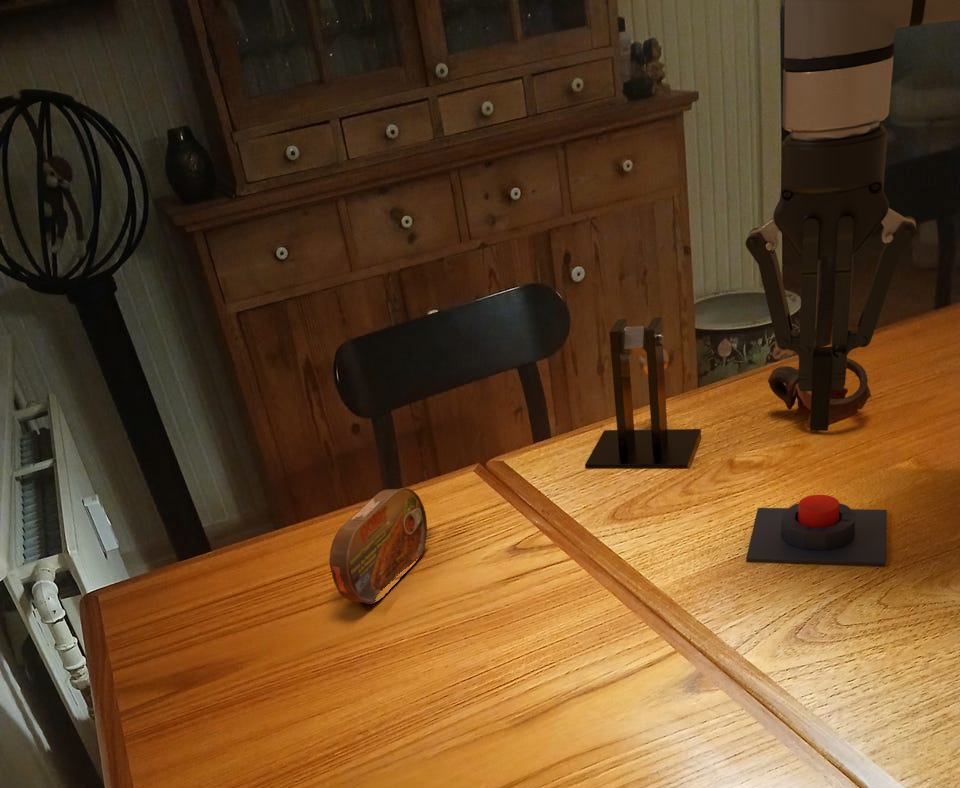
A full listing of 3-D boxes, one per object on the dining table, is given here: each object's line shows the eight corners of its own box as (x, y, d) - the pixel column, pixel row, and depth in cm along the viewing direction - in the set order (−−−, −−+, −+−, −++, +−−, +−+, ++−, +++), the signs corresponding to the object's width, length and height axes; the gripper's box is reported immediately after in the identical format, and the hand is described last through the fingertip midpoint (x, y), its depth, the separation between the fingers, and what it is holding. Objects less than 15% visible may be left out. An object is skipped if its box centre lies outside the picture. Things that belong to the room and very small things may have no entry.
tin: (363, 619, 97) (343, 545, 92) (337, 616, 98) (316, 542, 93) (434, 545, 107) (420, 474, 103) (410, 542, 109) (394, 473, 104)
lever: (641, 379, 122) (642, 349, 122) (670, 378, 121) (671, 348, 121) (617, 354, 110) (619, 321, 109) (649, 353, 108) (651, 320, 108)
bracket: (604, 438, 124) (593, 313, 115) (701, 437, 120) (697, 307, 111) (585, 473, 116) (572, 342, 108) (687, 474, 112) (682, 337, 103)
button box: (885, 529, 96) (888, 492, 93) (883, 583, 88) (887, 544, 86) (757, 526, 100) (757, 491, 98) (746, 578, 92) (745, 540, 90)
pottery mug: (868, 402, 122) (885, 357, 114) (846, 462, 118) (861, 420, 111) (773, 377, 125) (783, 332, 118) (748, 435, 122) (757, 392, 114)
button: (839, 511, 93) (840, 494, 92) (837, 529, 90) (838, 512, 89) (799, 510, 94) (800, 494, 93) (796, 528, 91) (796, 512, 90)
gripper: (928, 110, 74) (899, 407, 87) (750, 129, 79) (748, 408, 92) (930, 127, 69) (899, 442, 82) (738, 147, 73) (738, 442, 86)
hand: (819, 424), depth 87 cm, fingers closed
